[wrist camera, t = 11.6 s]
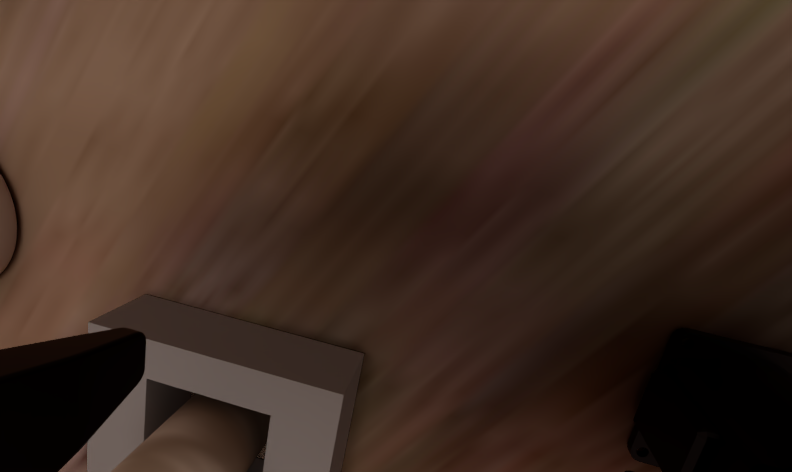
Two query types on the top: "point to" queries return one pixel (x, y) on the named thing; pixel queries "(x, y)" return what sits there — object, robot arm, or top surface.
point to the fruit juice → (6, 225)
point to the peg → (202, 440)
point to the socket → (232, 384)
